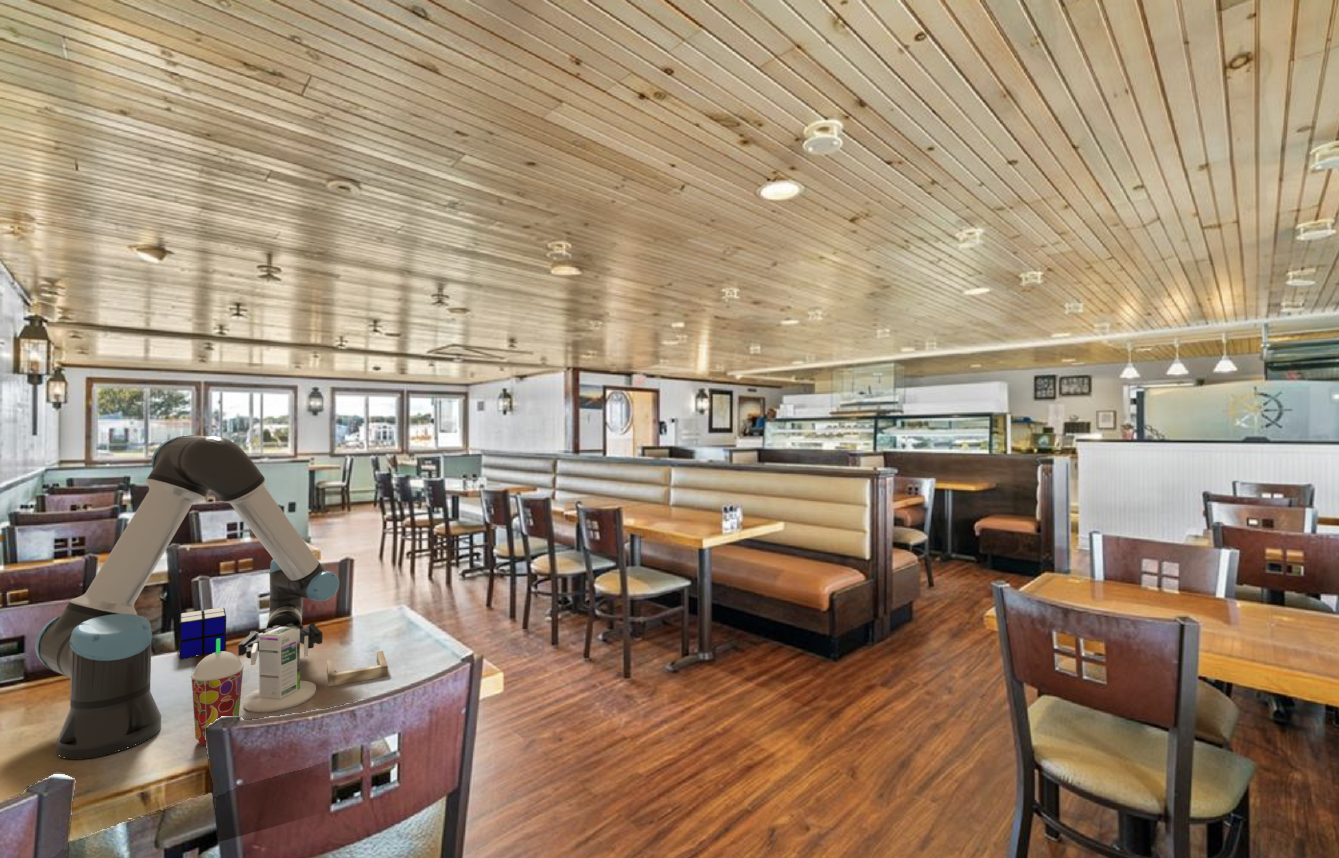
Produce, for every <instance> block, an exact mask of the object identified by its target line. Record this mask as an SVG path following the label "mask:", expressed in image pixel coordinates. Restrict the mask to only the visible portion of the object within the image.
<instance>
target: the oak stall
mask: <svg viewBox="0 0 1339 858" xmlns="http://www.w3.org/2000/svg"><path fill="white" fill-rule="evenodd" d="M376 664H377V665H372V666H368V667H367V666H366V667H360V668H354V669H349V670H344V671H343V670H342V671H339V672H336V669H335V658H331V659H326V668H327V669H326V674H327V676H326V677H327V678H326V679H327V687H328V688H329V687H334V686H340V685H344V684H351V683H356V682H361V681H367V680H371V679H379V678H382V677H388V667H389V666H388V662H387V660H386V656H385V652H384V650H380V651H376Z"/></svg>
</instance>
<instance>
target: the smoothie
mask: <svg viewBox="0 0 1339 858" xmlns="http://www.w3.org/2000/svg"><path fill="white" fill-rule="evenodd" d="M243 671H244V664H243V663H242V662H241V660H240V658H239V656H237V655H235V654H234V653H232V652H230V651H227V650H226V651H220V638H218V639H216V652H215V653H212V654H207V655H206V656H205V657H204V658H202V659H201V660H200V661H199V662H198V663H197V664H196V667H195V669H194V671H193V672H192V673H191V675H190V678H191V689H192V691H191V692H192V704H193V718H194V719H193V720H194V732H195V735H194V736H195V739H196V740H197V741H198V743H199V745H200V744H202V745H201V746H205V747H207V746H206V740H205V729H206V727H207V726H208V725H209V724H210V723H213V722H214V721H215V720H216V719H218V718H220V717H221V716H239V717H240V710H241V709H240V708H241V697H242V696H241V695H242V686H243V684H242V683H243Z"/></svg>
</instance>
